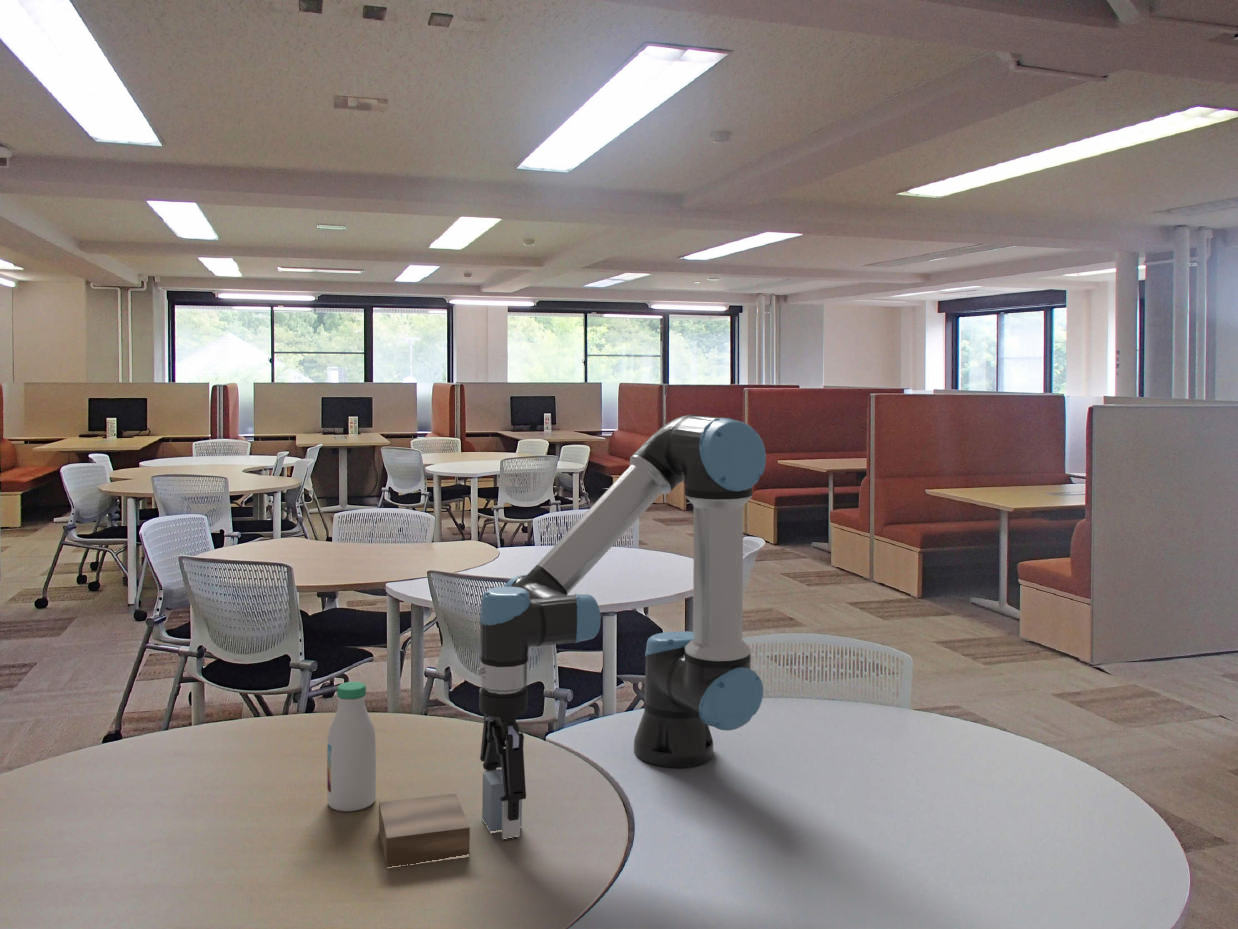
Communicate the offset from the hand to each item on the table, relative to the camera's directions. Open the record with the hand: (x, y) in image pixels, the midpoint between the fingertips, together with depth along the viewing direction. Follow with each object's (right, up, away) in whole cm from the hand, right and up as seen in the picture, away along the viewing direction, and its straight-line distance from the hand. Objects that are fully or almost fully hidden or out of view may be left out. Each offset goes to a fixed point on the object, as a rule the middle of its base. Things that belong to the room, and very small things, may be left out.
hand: (501, 822), depth 157 cm
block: (0, 0, 0) cm, 0 cm away
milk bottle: (-26, +1, +6) cm, 26 cm away
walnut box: (-11, -1, -7) cm, 13 cm away
